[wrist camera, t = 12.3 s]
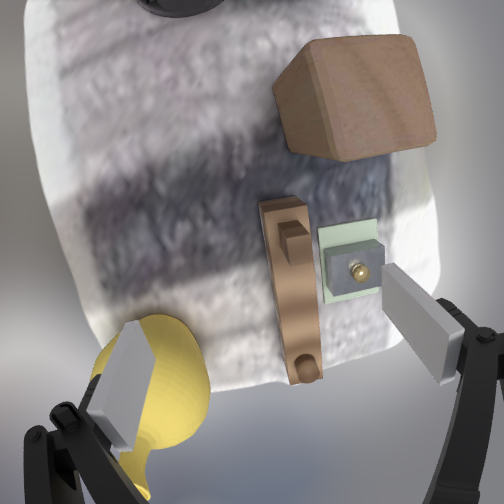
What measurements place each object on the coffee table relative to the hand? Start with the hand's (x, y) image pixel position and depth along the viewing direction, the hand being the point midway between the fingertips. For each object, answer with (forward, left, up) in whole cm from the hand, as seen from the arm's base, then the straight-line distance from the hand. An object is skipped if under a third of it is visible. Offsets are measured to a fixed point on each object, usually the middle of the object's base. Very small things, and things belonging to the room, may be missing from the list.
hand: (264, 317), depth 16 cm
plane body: (+13, +5, -29) cm, 32 cm away
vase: (+19, -16, -29) cm, 38 cm away
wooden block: (-11, +12, -29) cm, 33 cm away
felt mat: (+11, +14, -29) cm, 34 cm away
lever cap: (+11, +14, -28) cm, 33 cm away
